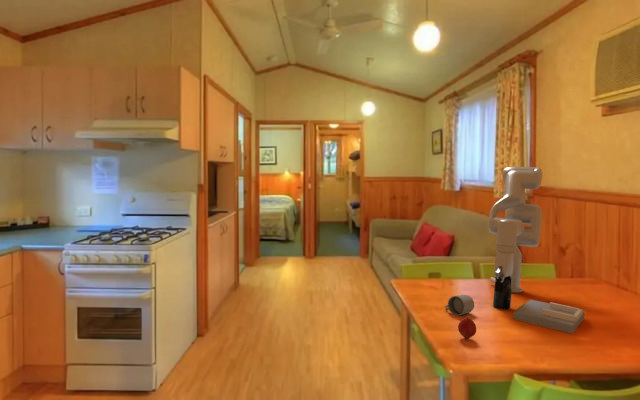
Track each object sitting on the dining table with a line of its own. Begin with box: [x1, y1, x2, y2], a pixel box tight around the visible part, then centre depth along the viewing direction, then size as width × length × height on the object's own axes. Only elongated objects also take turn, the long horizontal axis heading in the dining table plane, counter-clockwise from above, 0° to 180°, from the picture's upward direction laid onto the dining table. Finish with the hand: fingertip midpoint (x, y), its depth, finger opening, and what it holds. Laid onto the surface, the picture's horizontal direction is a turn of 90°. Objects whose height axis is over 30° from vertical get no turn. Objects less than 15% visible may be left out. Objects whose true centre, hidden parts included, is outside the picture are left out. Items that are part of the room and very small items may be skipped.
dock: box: [513, 299, 585, 335], centre depth 163 cm, size 20×22×5 cm
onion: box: [457, 315, 477, 340], centre depth 140 cm, size 6×6×8 cm
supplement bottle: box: [492, 278, 513, 311], centre depth 175 cm, size 7×7×12 cm
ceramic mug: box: [444, 294, 475, 317], centre depth 166 cm, size 11×8×8 cm
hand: (502, 289), depth 174 cm, fingers open, 9 cm apart
